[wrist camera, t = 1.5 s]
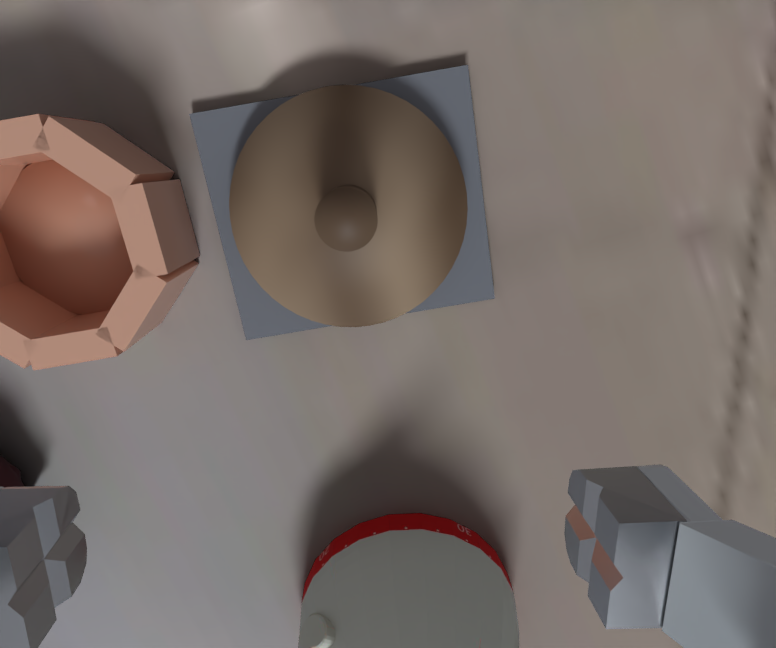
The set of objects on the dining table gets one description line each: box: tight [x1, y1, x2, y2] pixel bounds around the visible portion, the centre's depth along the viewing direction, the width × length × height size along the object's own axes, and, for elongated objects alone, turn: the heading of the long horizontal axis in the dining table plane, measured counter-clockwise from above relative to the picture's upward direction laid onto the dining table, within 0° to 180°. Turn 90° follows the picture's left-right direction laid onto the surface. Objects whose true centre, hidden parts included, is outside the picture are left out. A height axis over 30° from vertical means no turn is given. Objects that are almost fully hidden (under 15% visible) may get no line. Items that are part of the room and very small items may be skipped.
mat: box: [189, 65, 495, 340], centre depth 30 cm, size 14×12×1 cm
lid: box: [229, 85, 468, 327], centre depth 27 cm, size 12×12×5 cm
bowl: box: [0, 114, 200, 370], centre depth 28 cm, size 11×11×5 cm
